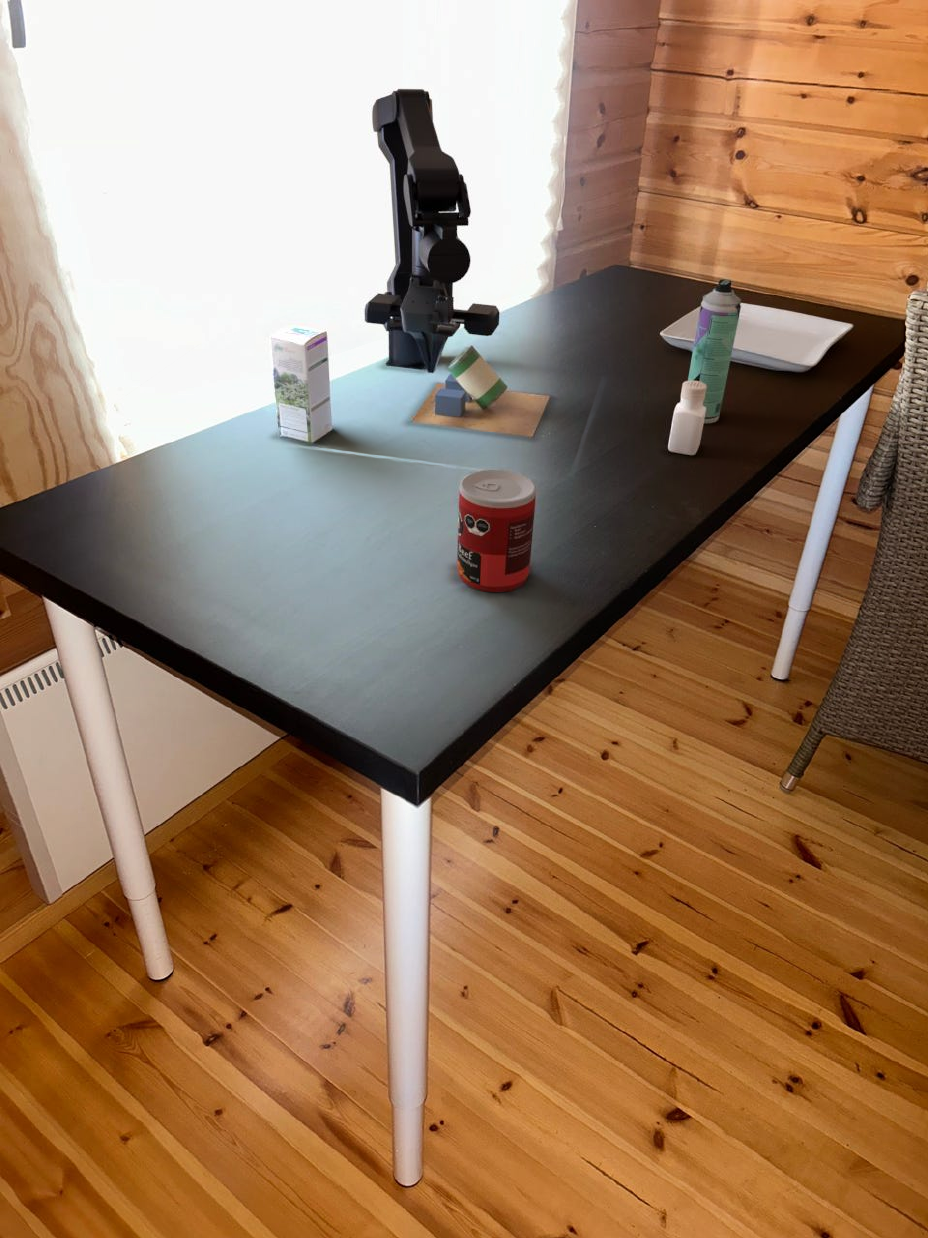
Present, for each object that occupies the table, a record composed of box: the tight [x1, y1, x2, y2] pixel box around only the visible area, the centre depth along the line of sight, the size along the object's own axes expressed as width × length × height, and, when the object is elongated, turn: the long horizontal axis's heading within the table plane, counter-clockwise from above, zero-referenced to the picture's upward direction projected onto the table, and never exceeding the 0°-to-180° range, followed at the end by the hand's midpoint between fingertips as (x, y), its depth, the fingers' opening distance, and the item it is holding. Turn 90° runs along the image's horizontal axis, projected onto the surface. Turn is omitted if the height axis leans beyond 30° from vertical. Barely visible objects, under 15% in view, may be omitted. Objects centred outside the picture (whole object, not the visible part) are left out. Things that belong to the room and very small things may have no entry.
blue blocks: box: [435, 373, 472, 417], centre depth 142 cm, size 4×9×3 cm, turn 167°
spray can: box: [687, 278, 742, 424], centre depth 138 cm, size 6×6×20 cm
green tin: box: [446, 344, 508, 410], centre depth 140 cm, size 9×5×9 cm, turn 77°
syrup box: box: [269, 324, 333, 444], centre depth 129 cm, size 6×6×14 cm
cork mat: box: [410, 382, 551, 438], centre depth 143 cm, size 18×16×1 cm
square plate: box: [659, 302, 854, 373], centre depth 170 cm, size 27×27×4 cm
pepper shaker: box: [667, 380, 707, 456], centre depth 131 cm, size 4×4×10 cm
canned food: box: [456, 469, 537, 593], centre depth 102 cm, size 8×8×11 cm
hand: (431, 372), depth 141 cm, fingers closed
